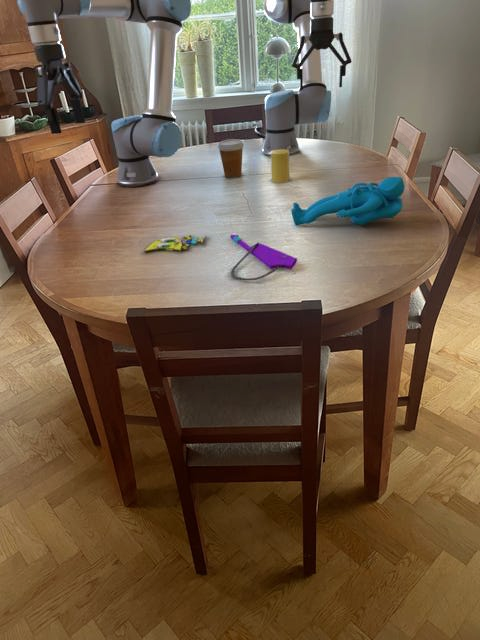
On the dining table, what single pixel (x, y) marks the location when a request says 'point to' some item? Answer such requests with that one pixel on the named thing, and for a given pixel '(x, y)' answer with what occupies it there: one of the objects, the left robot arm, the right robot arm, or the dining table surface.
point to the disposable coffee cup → (231, 156)
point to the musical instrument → (264, 257)
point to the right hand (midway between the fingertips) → (320, 88)
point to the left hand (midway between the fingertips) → (69, 128)
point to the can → (280, 165)
